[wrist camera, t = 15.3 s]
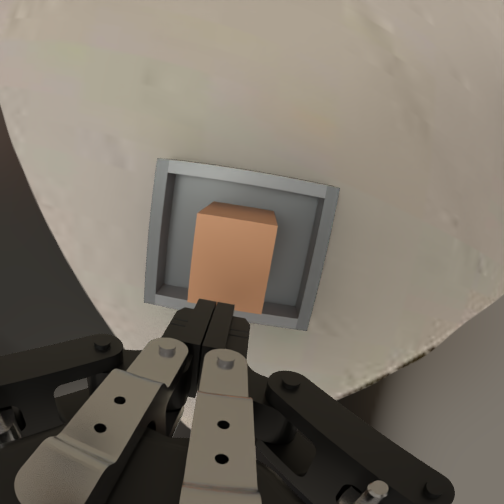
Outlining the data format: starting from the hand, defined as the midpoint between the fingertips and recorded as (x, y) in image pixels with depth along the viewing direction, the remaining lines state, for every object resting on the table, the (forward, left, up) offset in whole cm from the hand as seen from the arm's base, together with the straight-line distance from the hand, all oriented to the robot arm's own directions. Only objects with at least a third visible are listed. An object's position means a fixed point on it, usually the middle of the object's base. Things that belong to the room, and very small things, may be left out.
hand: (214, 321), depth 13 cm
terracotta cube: (0, 0, -15) cm, 15 cm away
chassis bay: (0, 0, -16) cm, 16 cm away
